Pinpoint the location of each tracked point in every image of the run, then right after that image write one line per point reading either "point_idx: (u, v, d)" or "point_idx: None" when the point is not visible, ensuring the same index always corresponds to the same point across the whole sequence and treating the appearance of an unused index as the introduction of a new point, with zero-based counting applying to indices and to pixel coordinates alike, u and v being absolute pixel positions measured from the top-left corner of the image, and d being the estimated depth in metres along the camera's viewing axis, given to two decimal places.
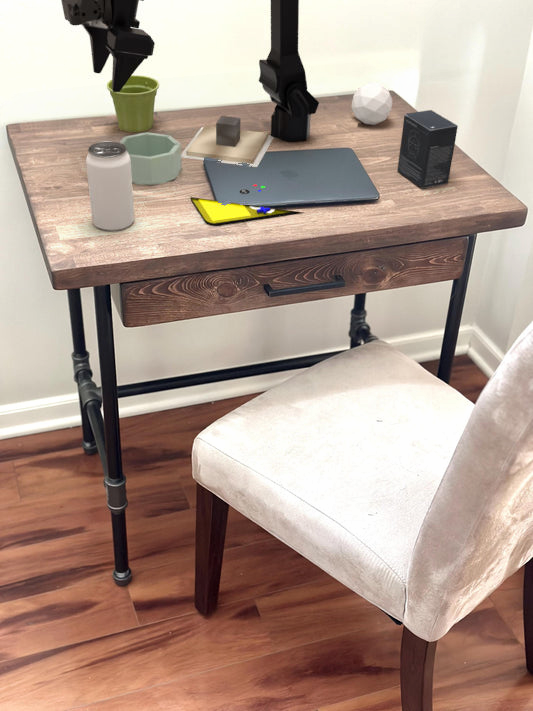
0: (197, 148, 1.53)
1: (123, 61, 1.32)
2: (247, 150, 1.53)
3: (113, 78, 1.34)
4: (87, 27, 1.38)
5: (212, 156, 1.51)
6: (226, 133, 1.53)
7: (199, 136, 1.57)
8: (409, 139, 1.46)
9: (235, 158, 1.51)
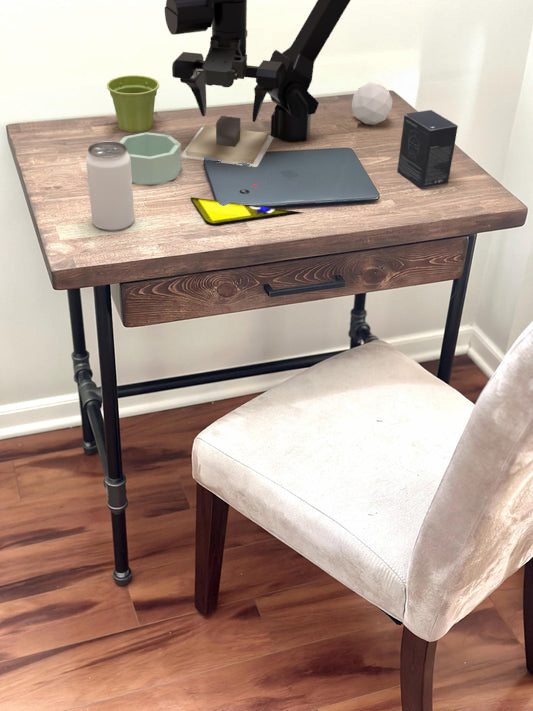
0: (197, 148, 1.53)
1: None
2: (247, 150, 1.53)
3: (256, 111, 1.50)
4: (196, 82, 1.48)
5: (212, 156, 1.51)
6: (226, 133, 1.53)
7: (199, 136, 1.57)
8: (409, 139, 1.46)
9: (235, 158, 1.51)
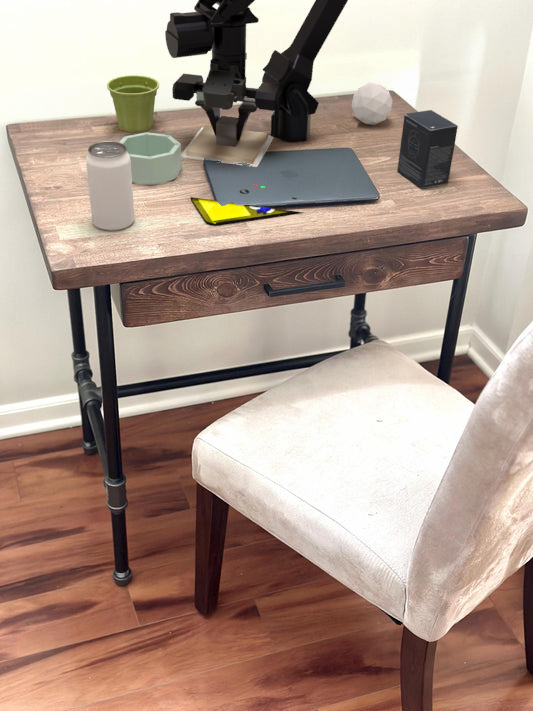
0: (197, 148, 1.53)
1: None
2: (247, 150, 1.53)
3: (240, 130, 1.53)
4: None
5: (212, 156, 1.51)
6: (226, 133, 1.53)
7: (199, 136, 1.57)
8: (409, 139, 1.46)
9: (235, 158, 1.51)
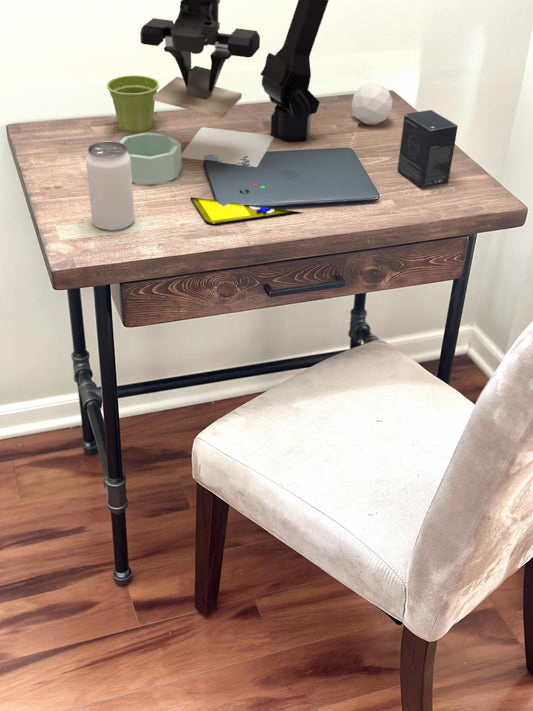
0: (165, 95, 1.43)
1: None
2: (218, 105, 1.44)
3: (213, 80, 1.43)
4: (180, 51, 1.40)
5: (180, 104, 1.42)
6: (198, 84, 1.44)
7: (169, 85, 1.48)
8: (409, 139, 1.46)
9: (205, 110, 1.41)
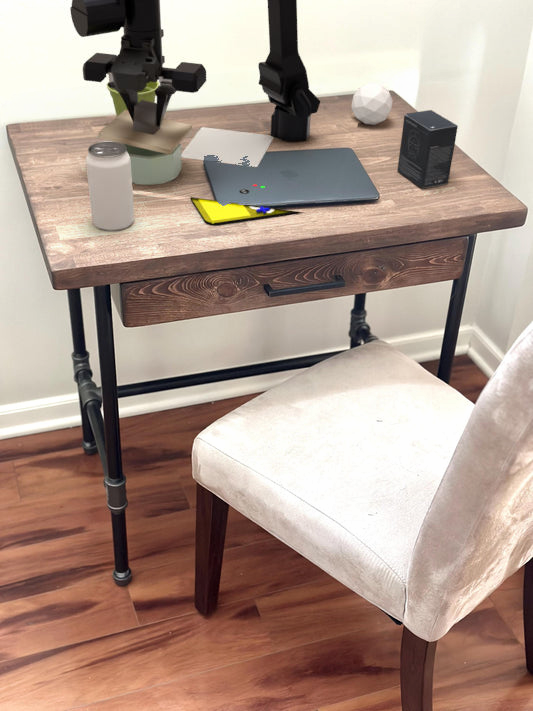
0: (111, 131, 1.39)
1: None
2: (166, 140, 1.40)
3: (159, 115, 1.39)
4: None
5: (126, 141, 1.38)
6: (144, 119, 1.40)
7: (116, 119, 1.43)
8: (409, 139, 1.46)
9: (151, 146, 1.37)
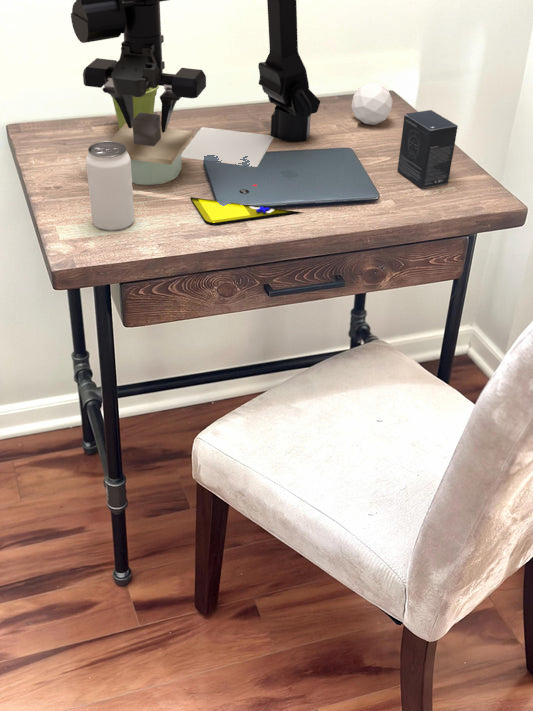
0: None
1: None
2: (167, 150, 1.41)
3: (164, 121, 1.40)
4: None
5: None
6: (143, 132, 1.41)
7: (117, 134, 1.45)
8: (409, 139, 1.46)
9: (152, 158, 1.38)
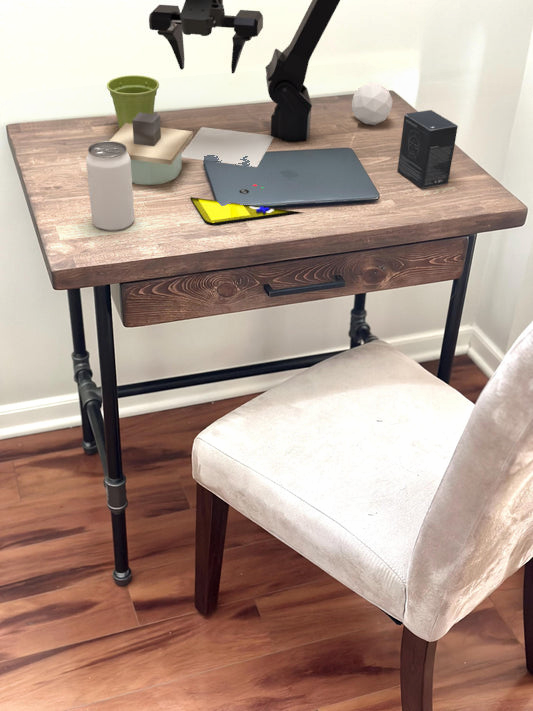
0: None
1: None
2: (167, 150, 1.41)
3: (234, 62, 1.50)
4: (173, 33, 1.47)
5: None
6: (143, 132, 1.41)
7: (117, 134, 1.45)
8: (409, 139, 1.46)
9: (152, 158, 1.38)
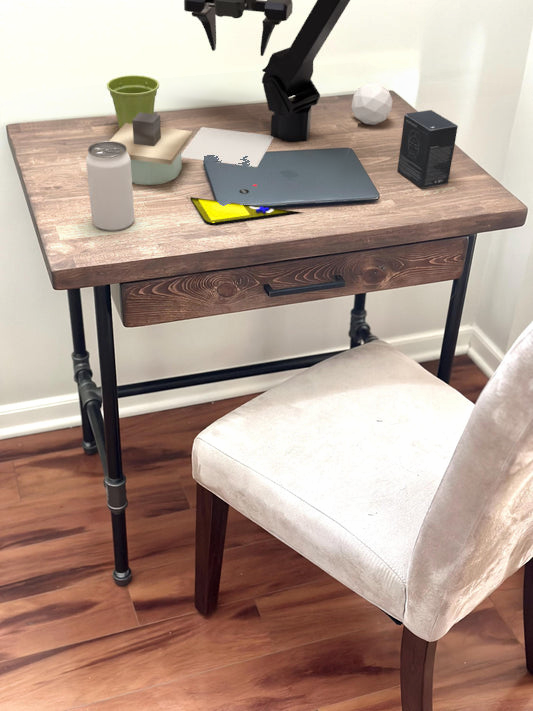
0: None
1: None
2: (167, 150, 1.41)
3: (263, 45, 1.57)
4: (207, 15, 1.55)
5: None
6: (143, 132, 1.41)
7: (117, 134, 1.45)
8: (409, 139, 1.46)
9: (152, 158, 1.38)
